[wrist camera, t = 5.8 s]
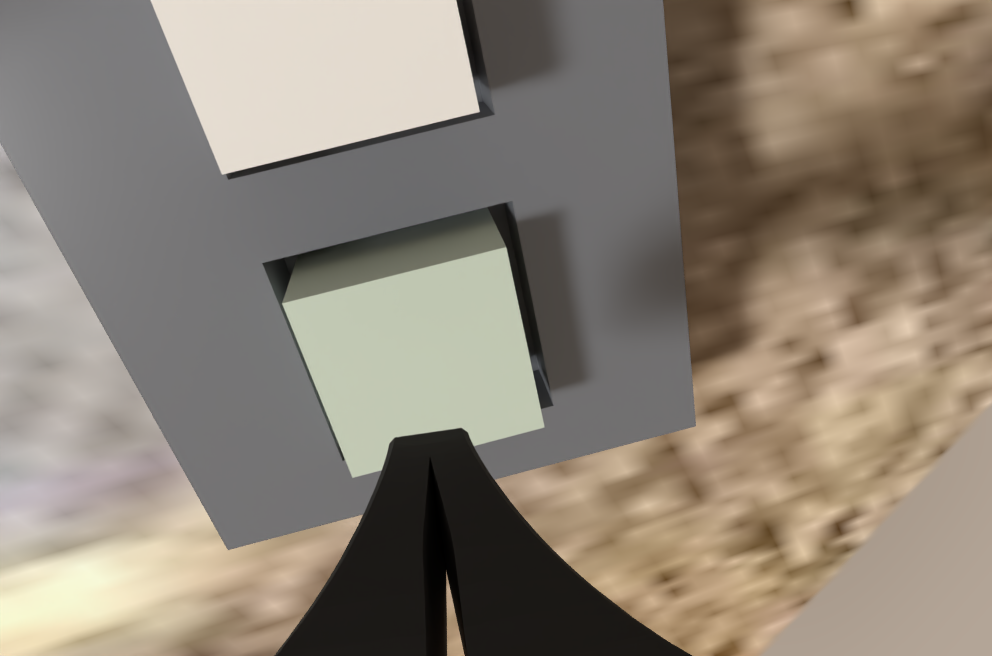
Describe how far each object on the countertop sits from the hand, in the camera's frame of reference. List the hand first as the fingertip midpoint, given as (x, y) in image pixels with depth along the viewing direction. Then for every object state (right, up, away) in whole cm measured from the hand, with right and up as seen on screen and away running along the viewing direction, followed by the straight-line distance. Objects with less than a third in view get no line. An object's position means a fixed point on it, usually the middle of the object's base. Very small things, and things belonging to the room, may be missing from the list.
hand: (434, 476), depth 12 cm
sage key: (-1, +3, +7) cm, 8 cm away
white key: (-3, +10, +3) cm, 11 cm away
